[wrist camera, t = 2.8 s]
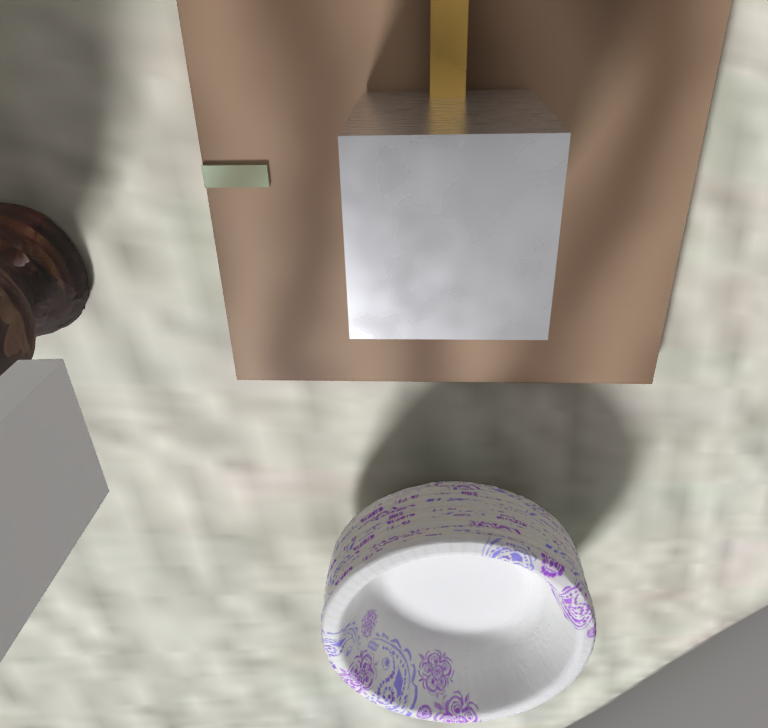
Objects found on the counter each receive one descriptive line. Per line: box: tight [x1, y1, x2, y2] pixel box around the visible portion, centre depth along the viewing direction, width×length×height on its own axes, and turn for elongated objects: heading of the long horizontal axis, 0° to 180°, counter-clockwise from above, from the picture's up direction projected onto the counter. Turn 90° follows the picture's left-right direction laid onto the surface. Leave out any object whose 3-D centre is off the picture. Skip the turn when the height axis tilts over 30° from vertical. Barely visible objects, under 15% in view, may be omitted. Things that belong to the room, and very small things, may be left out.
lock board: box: [177, 0, 732, 384], centre depth 30 cm, size 22×22×2 cm
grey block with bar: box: [338, 0, 571, 340], centre depth 25 cm, size 11×7×9 cm, turn 1°
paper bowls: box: [320, 481, 596, 723], centre depth 40 cm, size 15×15×8 cm
